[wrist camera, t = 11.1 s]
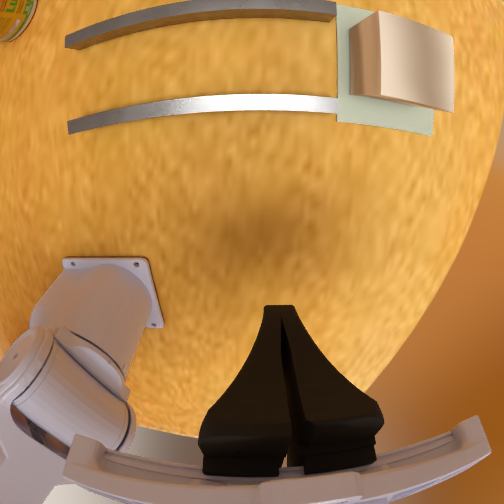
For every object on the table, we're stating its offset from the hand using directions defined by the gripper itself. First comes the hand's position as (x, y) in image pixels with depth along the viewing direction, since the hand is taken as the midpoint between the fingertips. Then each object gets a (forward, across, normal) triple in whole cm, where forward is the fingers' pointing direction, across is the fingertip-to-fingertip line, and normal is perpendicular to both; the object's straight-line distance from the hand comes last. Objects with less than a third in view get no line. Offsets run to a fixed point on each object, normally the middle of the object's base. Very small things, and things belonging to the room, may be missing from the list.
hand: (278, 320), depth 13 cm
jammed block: (+9, -8, -13) cm, 18 cm away
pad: (+9, -8, -13) cm, 18 cm away
